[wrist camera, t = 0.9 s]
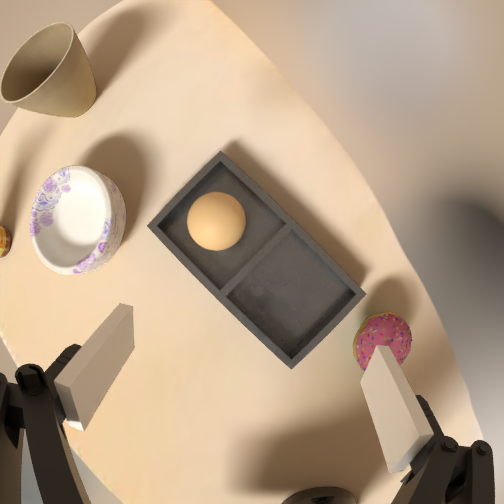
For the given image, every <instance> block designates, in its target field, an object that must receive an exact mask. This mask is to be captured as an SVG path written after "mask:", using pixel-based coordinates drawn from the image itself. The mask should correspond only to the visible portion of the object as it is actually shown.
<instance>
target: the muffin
mask: <svg viewBox="0 0 504 504" xmlns="http://www.w3.org/2000/svg"><path fill="white" fill-rule="evenodd" d="M187 225H188V230H189V233H190V235H191V237H192V238H193V240H194V241H195V242H196V243H197V244H199V245H200V246H201V247H203V248H205V249H208V250H215V251H218V250H224V249H227V248H229V247H231V246H233V245H234V244H235V243H237V242H238V240H239V239H240V238H241V236H242V234H243V232H244V230H245V225H246V217H245V213H244V210H243V208H242V206H241V204H240V203H239V202H238V201H237V200H236V199H235V198H234V197H232V196H231V195H229V194H226V193H222V192H211V193H207V194H205V195H203V196H201V197H200V198H198V199H197V200H196V201H195V202H194V203H193V205H192V206H191V208H190V210H189V213H188V217H187Z"/></svg>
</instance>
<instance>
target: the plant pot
mask: <svg viewBox="0 0 504 504" xmlns="http://www.w3.org/2000/svg"><path fill="white" fill-rule="evenodd" d="M96 94H97V90H96V85H95V80H94V77H93V73H92V70H91V66H90V64H89V61H88V58H87V56H86V53H85V51H84V48H83V46H82V44H81V42H80V40H79V39H78V37H77V35H76V33H75V31H74V29H73V27H72V26H71V25H70V24H69V23H67V22H57V23H53V24H50V25H48V26H46V27H44V28H42V29H41V30H39V31H38V32H36V33H35V34H34V35H32V36H31V37H30V38H29V39H27V41H25V42H24V44H22V46H21V47H20V48H19V49H18V50H17V51H16V53H15V54H14V55H13V57H12V58H11V60H10V61H9V63H8V65H7V67H6V69H5V71H4V73H3V76H2V79H1V83H0V96H1V98H2V100H3V101H4V102H6V103H9V104H11V105H14V106H17V107H20V108H23V109H26V110H29V111H33V112H37V113H41V114H46V115H52V116H59V117H78V116H80V115H82V114H84V113H85V112H86V111H87V110H88V109H89V108H90V107H91V106H92V104H93V103H94V101H95V98H96Z"/></svg>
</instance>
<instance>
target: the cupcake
mask: <svg viewBox="0 0 504 504" xmlns="http://www.w3.org/2000/svg"><path fill="white" fill-rule="evenodd" d="M411 335H412V334H411V331H410V329H409V326H408V325H407V323H406V322H405V321H404V320H403V319H402V318H401V317H400V316H398V315H397V314H395V313H393V312H384V313H380V314H376V315H372V316H370V317H368V318H367V319H366V320H365V322H364V323H363V324H362V326H361V327H360V329H359V330H358V332H357V333H356V336H355V338H354V341H353V353H354V356H355V358H356V360H357V362H358V363H359V365H360V367H361V368H362V369H363V370H366V368H367V366H368V364H369V361H370V359H371V357H372V355H373V352H374V350H375V348H376V345H383V346H389V348H390V350H391V351H392V353H393V355H394V357H395V359H396V360H397V362H398V364H399V365H400V364H401V363H402V362H403V360H404V359H405V358H406V356H407V355H408V353H409V352H410V348H411V347H410V346H411V341H412V339H411V338H412V337H411Z"/></svg>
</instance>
